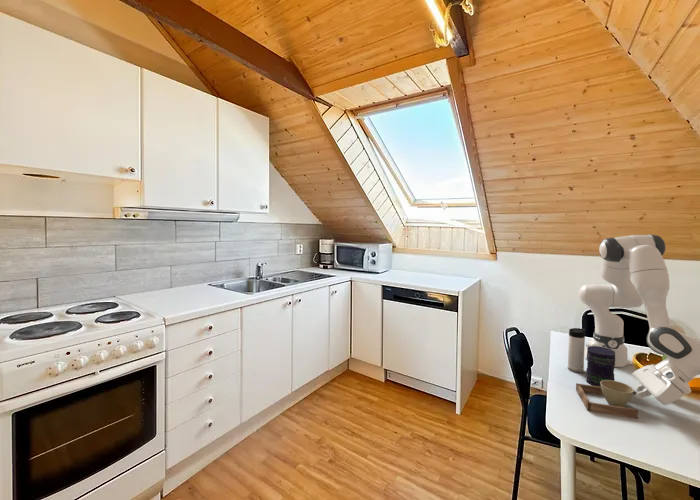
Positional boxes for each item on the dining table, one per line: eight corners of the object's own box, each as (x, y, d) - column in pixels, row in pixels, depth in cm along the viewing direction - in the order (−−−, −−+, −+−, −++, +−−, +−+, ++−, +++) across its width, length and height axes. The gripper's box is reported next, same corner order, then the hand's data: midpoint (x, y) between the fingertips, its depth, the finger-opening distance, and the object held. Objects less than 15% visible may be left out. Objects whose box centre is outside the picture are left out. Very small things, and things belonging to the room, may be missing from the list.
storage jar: (582, 376, 148) (583, 338, 147) (608, 379, 145) (610, 340, 144) (590, 387, 139) (591, 346, 138) (618, 390, 136) (620, 348, 134)
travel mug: (587, 373, 152) (588, 331, 150) (571, 372, 153) (572, 330, 151) (580, 367, 158) (582, 327, 156) (565, 366, 159) (566, 326, 158)
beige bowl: (630, 414, 119) (631, 395, 119) (596, 403, 127) (597, 385, 126) (635, 404, 126) (636, 386, 125) (603, 394, 133) (603, 377, 133)
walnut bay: (575, 390, 137) (576, 383, 137) (620, 396, 131) (620, 389, 131) (587, 410, 122) (587, 402, 122) (637, 418, 117) (638, 410, 116)
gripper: (648, 356, 129) (617, 377, 133) (677, 379, 110) (640, 402, 114) (662, 369, 127) (630, 389, 132) (694, 394, 108) (655, 417, 113)
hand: (635, 395), depth 123 cm, fingers closed
